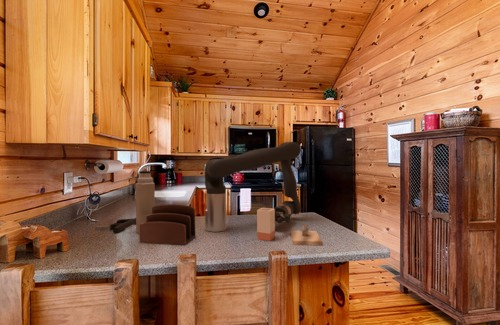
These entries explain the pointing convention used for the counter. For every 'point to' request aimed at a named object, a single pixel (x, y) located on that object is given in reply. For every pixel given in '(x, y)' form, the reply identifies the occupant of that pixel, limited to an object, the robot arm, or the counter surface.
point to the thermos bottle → (144, 197)
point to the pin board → (305, 237)
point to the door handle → (118, 225)
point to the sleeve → (266, 224)
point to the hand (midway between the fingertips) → (269, 220)
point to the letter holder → (169, 225)
